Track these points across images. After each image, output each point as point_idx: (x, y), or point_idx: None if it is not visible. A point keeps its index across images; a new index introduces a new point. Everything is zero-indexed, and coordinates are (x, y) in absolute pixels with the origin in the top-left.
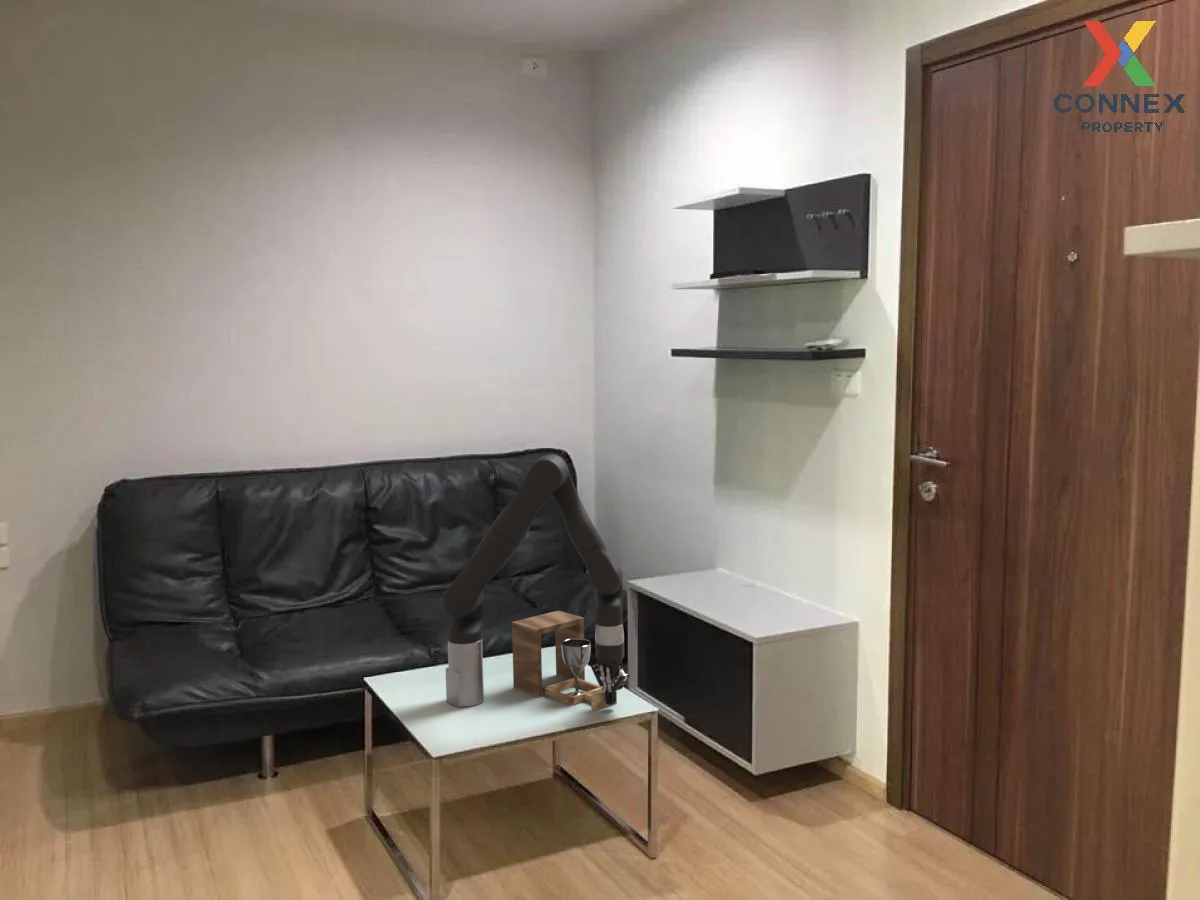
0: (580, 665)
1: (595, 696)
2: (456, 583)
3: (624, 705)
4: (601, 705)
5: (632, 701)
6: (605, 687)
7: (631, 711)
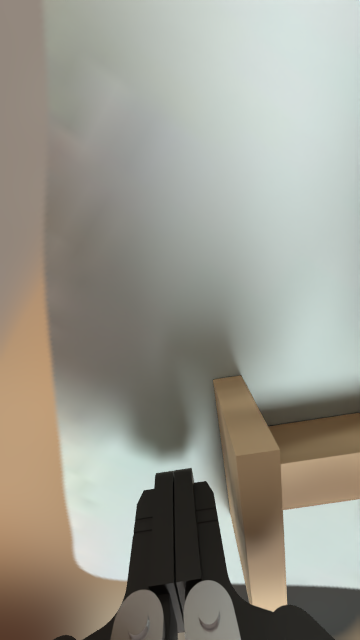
0: None
1: (236, 460)
2: None
3: None
4: (223, 440)
5: None
6: (202, 631)
7: (89, 515)
